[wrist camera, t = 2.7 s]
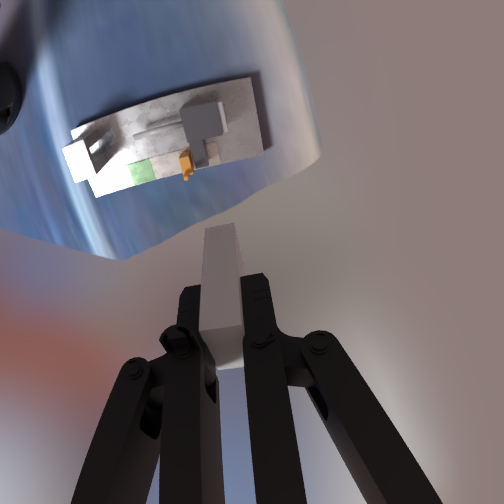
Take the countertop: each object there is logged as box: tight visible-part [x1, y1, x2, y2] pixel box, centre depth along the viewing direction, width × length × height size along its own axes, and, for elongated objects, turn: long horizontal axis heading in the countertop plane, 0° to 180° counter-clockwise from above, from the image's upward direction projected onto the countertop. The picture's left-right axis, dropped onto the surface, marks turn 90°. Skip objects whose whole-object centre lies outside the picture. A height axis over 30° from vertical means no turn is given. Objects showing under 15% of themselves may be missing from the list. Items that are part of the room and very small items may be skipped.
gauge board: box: [62, 77, 264, 197], centre depth 41 cm, size 30×13×8 cm, turn 100°
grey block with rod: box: [133, 97, 228, 169], centre depth 41 cm, size 14×10×5 cm
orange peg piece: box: [179, 151, 194, 181], centre depth 43 cm, size 2×3×5 cm, turn 10°
